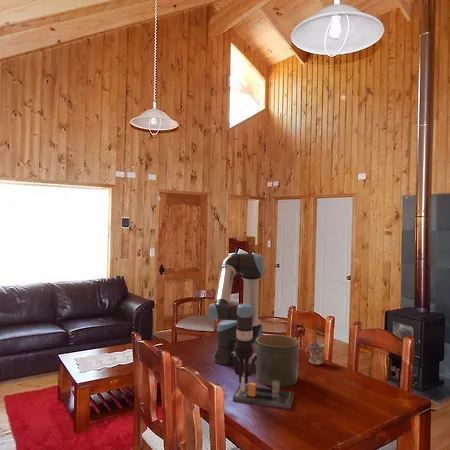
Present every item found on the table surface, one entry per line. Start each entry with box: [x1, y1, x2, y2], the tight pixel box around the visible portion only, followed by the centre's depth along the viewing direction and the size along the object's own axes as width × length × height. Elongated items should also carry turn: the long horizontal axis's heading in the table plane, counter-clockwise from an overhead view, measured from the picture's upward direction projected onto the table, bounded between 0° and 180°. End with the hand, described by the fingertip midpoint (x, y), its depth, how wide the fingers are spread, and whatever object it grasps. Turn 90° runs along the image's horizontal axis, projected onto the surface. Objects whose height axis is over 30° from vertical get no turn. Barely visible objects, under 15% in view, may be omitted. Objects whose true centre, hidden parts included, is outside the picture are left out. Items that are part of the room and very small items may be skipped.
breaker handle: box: [247, 382, 257, 397], centre depth 180 cm, size 3×3×5 cm
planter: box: [255, 334, 300, 388], centre depth 206 cm, size 22×22×20 cm
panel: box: [232, 380, 295, 410], centre depth 182 cm, size 26×14×7 cm, turn 74°
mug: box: [304, 342, 325, 366], centre depth 232 cm, size 12×9×11 cm
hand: (243, 390), depth 181 cm, fingers closed
